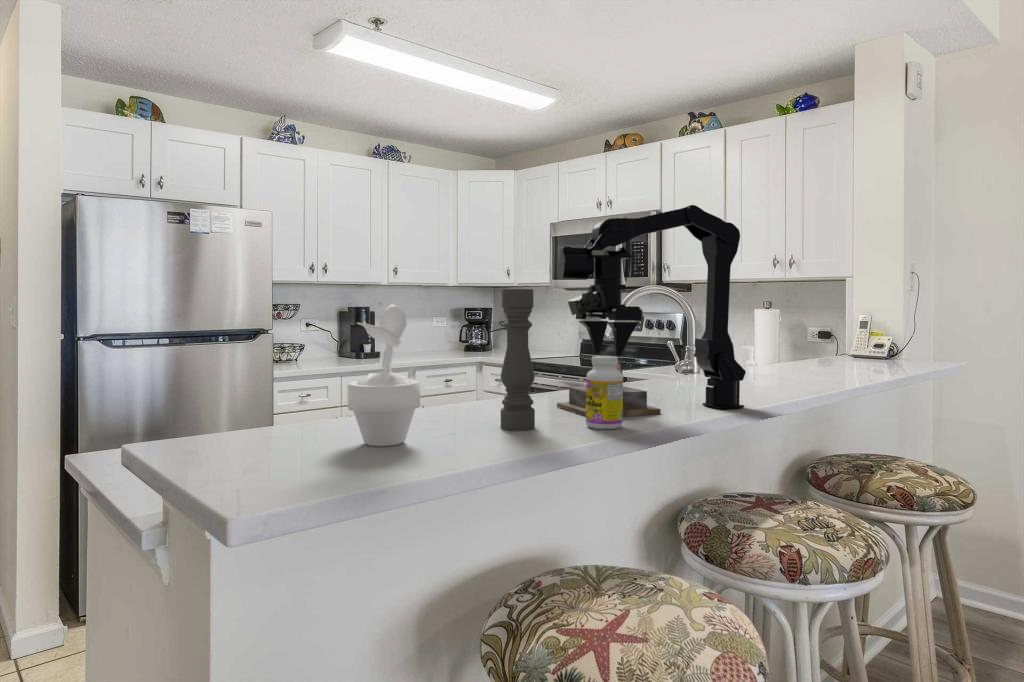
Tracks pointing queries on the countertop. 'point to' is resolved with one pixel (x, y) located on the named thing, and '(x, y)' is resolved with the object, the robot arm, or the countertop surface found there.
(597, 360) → the supplement bottle
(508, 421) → the candle holder
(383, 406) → the potted plant
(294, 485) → the countertop surface
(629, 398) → the socket
